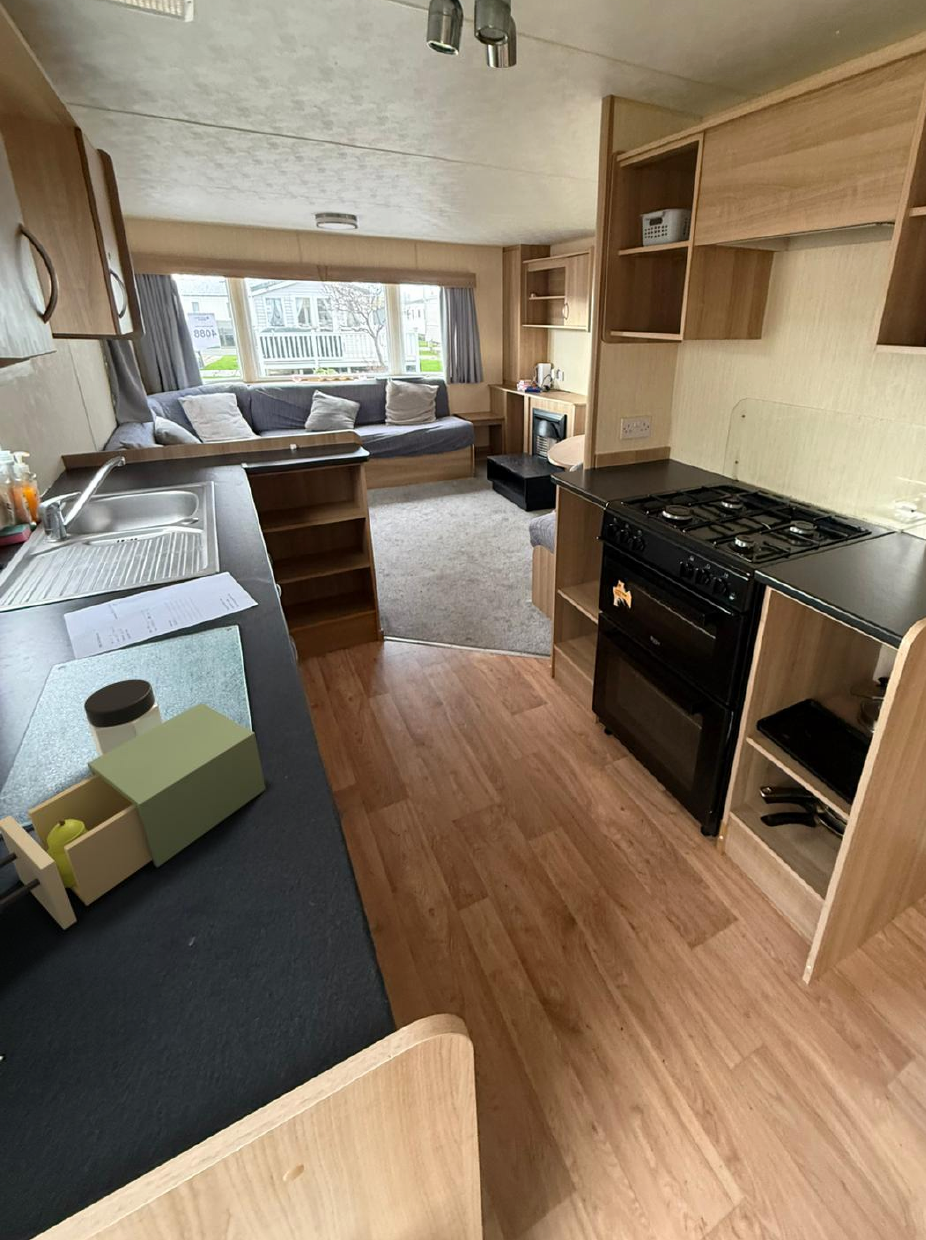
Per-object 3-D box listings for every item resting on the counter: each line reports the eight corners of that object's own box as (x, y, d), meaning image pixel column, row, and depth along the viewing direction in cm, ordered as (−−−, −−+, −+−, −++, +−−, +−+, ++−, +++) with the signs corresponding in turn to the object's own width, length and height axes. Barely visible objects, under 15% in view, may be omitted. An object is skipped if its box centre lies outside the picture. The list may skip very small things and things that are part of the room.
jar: (176, 737, 92) (160, 673, 87) (164, 773, 84) (146, 705, 80) (111, 750, 89) (92, 684, 85) (93, 787, 82) (70, 718, 77)
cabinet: (158, 872, 69) (139, 804, 65) (107, 827, 75) (86, 763, 71) (266, 794, 81) (254, 732, 77) (214, 760, 87) (201, 702, 83)
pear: (44, 875, 66) (24, 825, 64) (92, 844, 70) (76, 796, 68) (63, 897, 64) (44, 846, 61) (113, 863, 68) (96, 814, 65)
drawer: (8, 970, 58) (-21, 907, 55) (-34, 912, 63) (-62, 853, 60) (189, 840, 72) (175, 785, 69) (142, 803, 78) (127, 750, 75)
